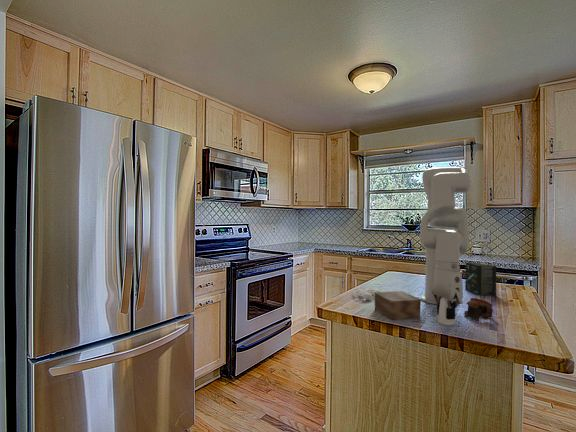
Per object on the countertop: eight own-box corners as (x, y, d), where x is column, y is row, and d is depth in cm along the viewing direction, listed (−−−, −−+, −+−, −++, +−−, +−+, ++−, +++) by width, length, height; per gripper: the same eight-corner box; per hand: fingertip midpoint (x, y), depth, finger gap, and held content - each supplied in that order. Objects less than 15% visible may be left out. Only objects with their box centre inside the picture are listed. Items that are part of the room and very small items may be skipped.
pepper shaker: (451, 326, 107) (452, 295, 106) (435, 322, 110) (436, 292, 110) (455, 322, 111) (456, 292, 111) (439, 319, 114) (440, 289, 114)
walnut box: (401, 307, 127) (401, 291, 127) (420, 318, 115) (421, 299, 115) (374, 309, 124) (374, 292, 124) (391, 320, 112) (391, 301, 112)
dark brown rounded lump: (456, 315, 121) (463, 295, 123) (478, 326, 120) (484, 306, 123) (478, 317, 109) (485, 296, 111) (502, 330, 109) (508, 308, 111)
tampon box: (496, 295, 150) (497, 265, 150) (477, 295, 150) (478, 265, 150) (482, 290, 161) (483, 262, 161) (464, 289, 161) (465, 261, 161)
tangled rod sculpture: (351, 293, 155) (350, 284, 155) (380, 291, 153) (380, 283, 153) (355, 303, 136) (354, 293, 136) (389, 301, 134) (388, 292, 134)
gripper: (475, 270, 103) (473, 324, 103) (439, 262, 119) (438, 309, 119) (456, 270, 101) (454, 326, 101) (422, 262, 117) (421, 310, 118)
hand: (445, 316), depth 110 cm, fingers closed on pepper shaker, 3 cm apart
